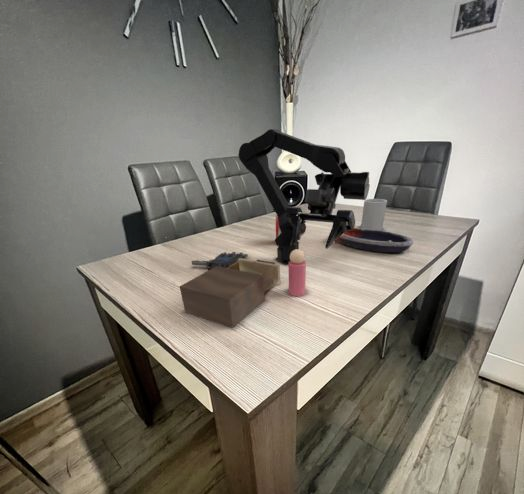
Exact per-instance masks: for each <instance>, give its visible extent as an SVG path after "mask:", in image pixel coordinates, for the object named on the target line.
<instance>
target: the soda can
mask: <svg viewBox="0 0 524 494" xmlns="http://www.w3.org/2000/svg"><path fill="white" fill-rule="evenodd" d="M280 234H281V231H280V228H279V221H278V216H277V214H276V215H275V239H276V238H277V237H278V236H279V235H280Z"/></svg>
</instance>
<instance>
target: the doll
mask: <svg viewBox="0 0 524 494" xmlns="http://www.w3.org/2000/svg"><path fill="white" fill-rule="evenodd" d="M305 259H306V254H305V252H304V251H303V250H302V249H300V248H299V249H295V250H293V251H292V252H291V254H290V260H291V261H289V264H288V295H290V296H291V297H301V296H304V295H305V294H306V281H307V278H306V276H307V262H306V260H305Z"/></svg>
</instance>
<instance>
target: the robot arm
mask: <svg viewBox="0 0 524 494" xmlns="http://www.w3.org/2000/svg"><path fill="white" fill-rule="evenodd" d="M275 148H277V149H278V150H279V149H280V150H281V151H284V152H287V153H290V154H292V155H295V156H298V157H300V158H302V159H305V160H307V161H308V162H310V163H311V164H312V165H313V166H314V167H316V168H317V169H319V170H320V171H322V172H320V173H317V174H315V175H314V179H315V182H316V185H317V186H318V188H317V189H313V188H312V189H311V188H308V189H306V191H305V196H304V197H305V198H304V203H305V204H307V206H306V207H307V210H308V211H310V212H303V209H302V208H301V207H299V206H290V204H289V202H288V200H287V199H286V197H285V195H284V193H283V192H282V189H281V187H280V186H279V184H278V182H277V180H276V178H275V177H274V175H273V173H272V171H271V169H270V167H269V166H270V165H269V157H268V154H270V153H271V152H272V151H273V150H274V149H275ZM237 155H238V159H239V161H240V162H241V164H242V165H243V167H244V168H245V169H246V170H247V171H248V172H250V173H251V174H252V175H253V176H255V178H256V180H257V182H258V183H259V186H260V187H261V189H262V190H263V193H264V194H265V196H266V198H267V200H268V202H269V203H270V205H271V208H273V211H274V212H275V214H276V215H277V216H278V221H279V228H280V231H281V234H280V235H279V236H278V237H277V238H276V237H275V239H274V242H275V244H276V246H277V248H276V257H275V260H276V261H278V262H280V263H282V264H284V265H289V261H291V260H290V254H291V252H292V251H293V250H295V249H300V244H299V243H300V242H299V241H300V240H301V238H302V236H304V234H306V230H307V225H306V223H307V222H308V221H310V222H318V223H331V224H332V227H331V229H330V232H329V234H328V236H327V239H326V243H325V246H324V247H325V249H326V250H327V249H329V248H330V247H331V246H332V245H333V243H335V242H336V241H337V240H336V239H337V238H338V237H340V236H341V235H342V234H343V233H347V232H348V231H352V230H354V228H355V226H356V218H355V212H354V211H353V210H352V209H338V210H337V211H336V214H333V210H334V209H336V206H337V205H336V202H337V199H338V196H339V194H340V195H341V197H343V199H344V200H345V199H346V200H359V201H364V200H367V199H368V196H369V191H370V171H361V172H352V170H351V169H350V167H349V165H348V163H347V162H346V154H345V151H344V150H343V149H342V148H341V147H339V146H330V145H322V144H315V143H312V142H310V141H307V140H304V139H301V138H299V137H296V136H293V135H291V134H288V133H285V132H282V131H281V130H280V129H274V128H270V129H268V130H267V131H266V132H264V133H263V134H261V135H259V136H258V137H255V138H254V139H252V140H251V141H249V142H244V143H242V144H241V145H240V147H239V149H238V154H237Z"/></svg>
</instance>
